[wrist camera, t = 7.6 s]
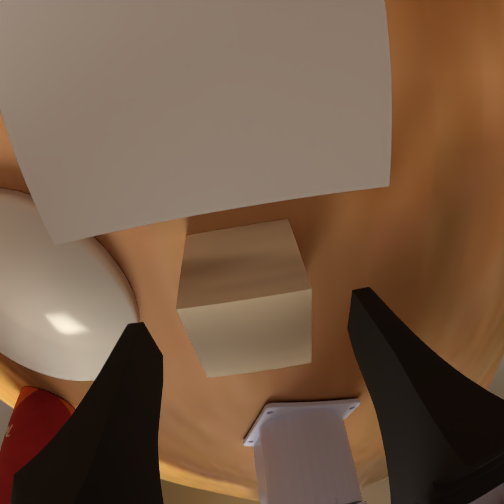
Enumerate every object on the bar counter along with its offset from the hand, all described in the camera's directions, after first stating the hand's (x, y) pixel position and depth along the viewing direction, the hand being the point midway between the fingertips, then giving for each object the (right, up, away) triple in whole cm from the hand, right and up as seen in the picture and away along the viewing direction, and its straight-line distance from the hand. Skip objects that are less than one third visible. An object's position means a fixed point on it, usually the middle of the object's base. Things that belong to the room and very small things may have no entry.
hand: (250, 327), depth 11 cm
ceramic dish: (-12, 0, +3) cm, 12 cm away
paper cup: (-18, -11, +11) cm, 23 cm away
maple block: (0, +2, +3) cm, 4 cm away
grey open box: (-1, +9, -3) cm, 10 cm away
